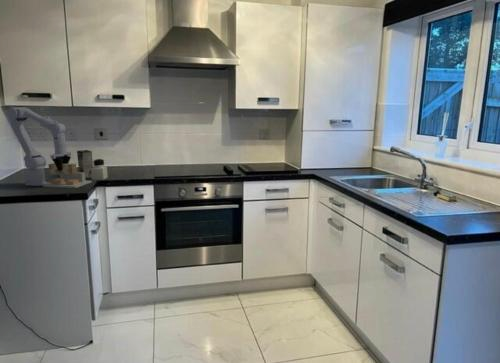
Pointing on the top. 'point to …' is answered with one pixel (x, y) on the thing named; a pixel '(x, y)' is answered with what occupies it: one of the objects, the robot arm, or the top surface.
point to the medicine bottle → (99, 170)
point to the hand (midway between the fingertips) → (62, 169)
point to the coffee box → (85, 162)
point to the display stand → (69, 181)
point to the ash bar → (63, 169)
